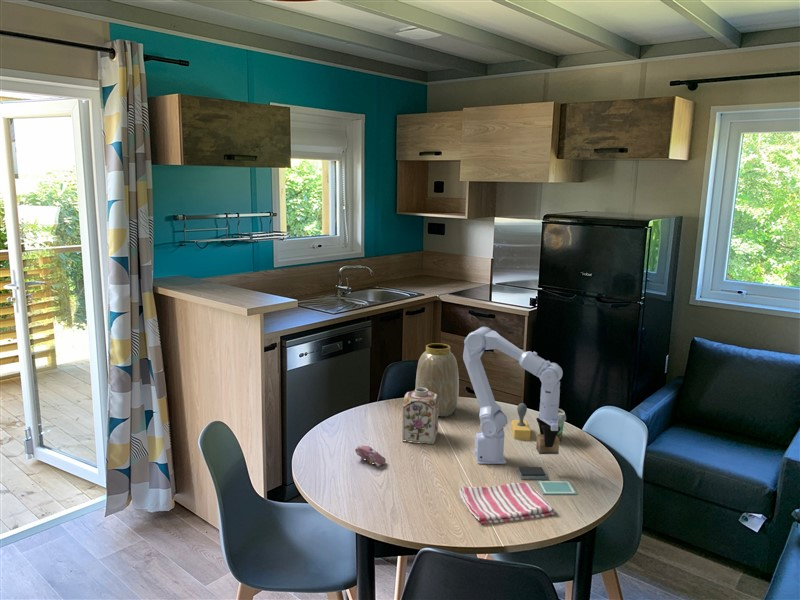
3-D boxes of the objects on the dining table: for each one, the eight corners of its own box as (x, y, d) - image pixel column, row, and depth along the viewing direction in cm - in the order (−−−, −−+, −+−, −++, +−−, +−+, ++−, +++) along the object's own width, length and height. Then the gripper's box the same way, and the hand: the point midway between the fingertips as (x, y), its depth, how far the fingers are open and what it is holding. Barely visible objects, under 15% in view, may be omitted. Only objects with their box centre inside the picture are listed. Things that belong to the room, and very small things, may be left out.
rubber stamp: (530, 440, 220) (532, 408, 217) (514, 439, 220) (515, 407, 218) (526, 429, 229) (528, 398, 227) (511, 428, 230) (512, 398, 228)
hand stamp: (539, 454, 192) (540, 434, 191) (536, 448, 196) (537, 429, 195) (558, 454, 192) (559, 434, 191) (554, 448, 196) (556, 429, 195)
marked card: (543, 494, 180) (543, 493, 180) (536, 481, 188) (536, 480, 188) (577, 494, 181) (577, 493, 180) (569, 481, 188) (569, 480, 188)
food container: (565, 446, 214) (567, 419, 213) (547, 444, 216) (549, 417, 214) (563, 432, 226) (565, 407, 225) (546, 431, 228) (548, 405, 226)
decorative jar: (438, 432, 225) (439, 385, 222) (434, 445, 214) (435, 395, 211) (406, 429, 227) (407, 383, 224) (401, 442, 216) (401, 393, 213)
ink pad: (521, 479, 190) (521, 475, 189) (517, 470, 195) (517, 466, 195) (546, 479, 190) (547, 475, 189) (542, 470, 196) (542, 466, 195)
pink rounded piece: (357, 462, 203) (350, 447, 200) (366, 453, 206) (359, 438, 202) (379, 472, 197) (372, 456, 193) (387, 462, 199) (381, 446, 196)
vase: (466, 411, 247) (468, 346, 242) (439, 422, 235) (440, 354, 230) (434, 400, 258) (435, 338, 254) (406, 411, 246) (407, 346, 241)
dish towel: (457, 496, 180) (457, 485, 179) (530, 488, 185) (531, 477, 185) (478, 527, 163) (479, 515, 163) (558, 517, 169) (558, 505, 168)
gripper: (569, 411, 184) (566, 453, 187) (555, 394, 198) (552, 434, 201) (546, 411, 184) (543, 453, 186) (534, 394, 198) (531, 434, 201)
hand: (546, 443), depth 194 cm, fingers closed on hand stamp, 4 cm apart
